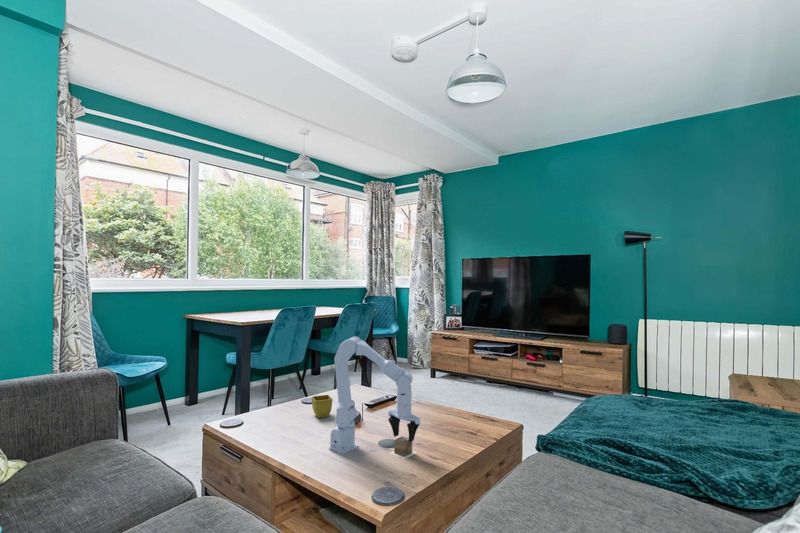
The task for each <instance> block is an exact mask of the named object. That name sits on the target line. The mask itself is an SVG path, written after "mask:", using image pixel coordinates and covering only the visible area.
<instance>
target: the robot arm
mask: <svg viewBox="0 0 800 533" xmlns="http://www.w3.org/2000/svg"><path fill="white" fill-rule="evenodd" d="M353 355H355V356H364V357H366V358H368V359H369V360H370V361H372V362H373V363H375V364H376V365H377V366H379V367H380V371H381V373H383V374H384V375H386V376H387V377H388V378H389V379H391V380H392V381H393V382H395V385H396V387H397V389H396V390H397V391H396V410H394V409H393V410H392V409H391V410H389V411H387V412H388V417H389V418H388V422H389V425H390V427H391V428H392V433H393V434H392V435H393V437H395V438H396V437H397V436H399V434H400V422H401V420H403V421H406V422H407V421H408V422H409V423H407V425H406V427H407V429H408V431H407V432H408V438H409V442H412V443H413V442H414V441H415V437H416V433H417V430H418V428H419V426H420V424H421V417H418V416H416V415H414V414H412V393H413V392H412V382H413V380H414V379H413V378H414V377H413V375H412V374H411V372H410V371H408V370H406V369H405V368H403V367H400V366H399V365H398V364H396V360H391V359H385V358H384V357H383V356H382V355H381V354H379V352H377V351H376V350H374V349H373V348H372V346H370V345H369V344H368V343H367V342H366V341H364V340H363V339H361V338H360V337H358V336H355V335H354V336H352V337H350V338H348V339H344V340H343V341H342V342H341V343H340V344H339V345H338V349H337V351H336V354H335V356H334V358H333V359H334V370H335V371H334V372H335V380H336V390H337V402H338V403H337V406H336V415H335V417H334V421H335V424H336V426H335V428H334V429H333V428H332V430H331V432H330V447H329V448H328V449H329V450H331V451H333V452H335V453H339V454H340V455H344V454H347V453H349V452H350V451H351V452H352V451H353V450H355V449H357V448H359V447H360V445H359V444H357V443H355V439H356V438H355V437H356V423H355V419H356V417H357V415H358V412H357V409H356V407H355V404H354V403H355V402H354V401H353V400H352V394H351V383H350V382H351V381H350V371H349V363H348V361H349V360H350V359H351V358H352V356H353Z"/></svg>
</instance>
